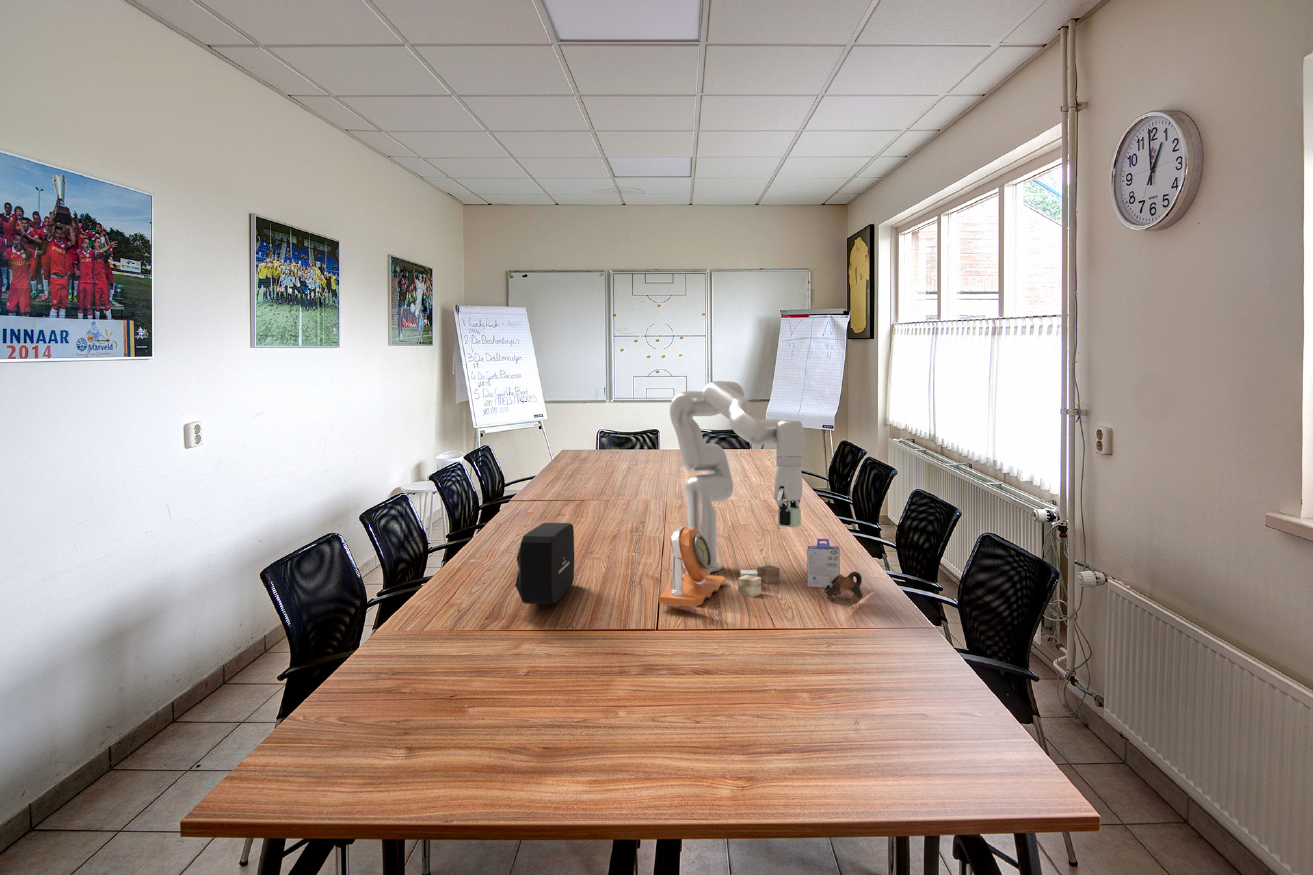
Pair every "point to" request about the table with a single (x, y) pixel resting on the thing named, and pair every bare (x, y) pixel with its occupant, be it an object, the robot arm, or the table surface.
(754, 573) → the grey cube
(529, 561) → the black hard case
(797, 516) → the sage cube
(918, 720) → the table surface
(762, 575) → the walnut cube
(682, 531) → the desk clock
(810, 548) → the ink cartridge box
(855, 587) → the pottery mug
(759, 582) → the maple cube
